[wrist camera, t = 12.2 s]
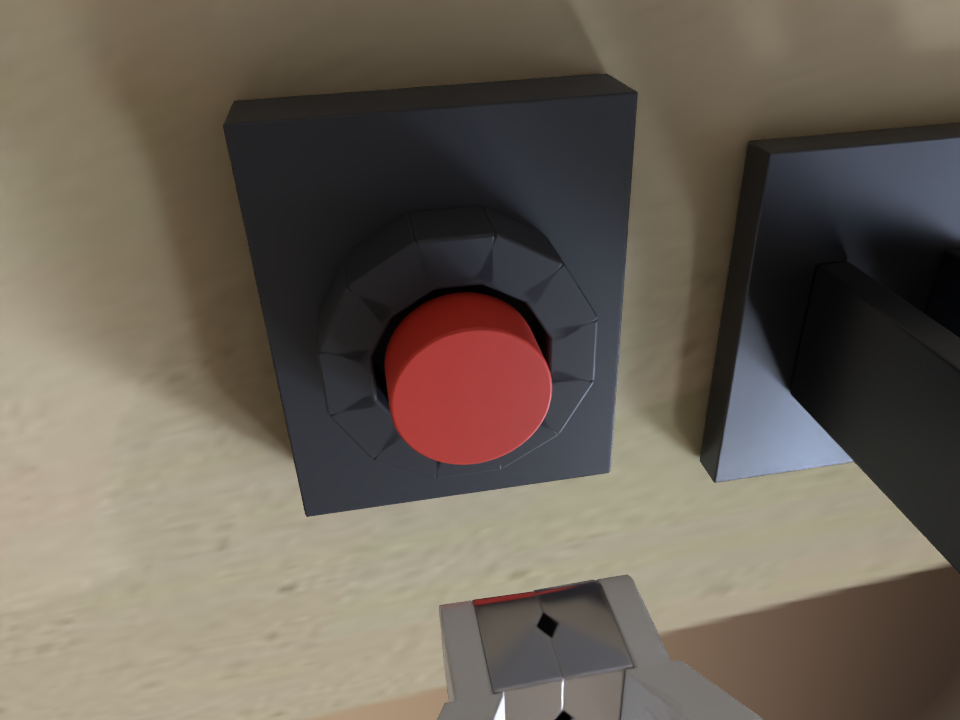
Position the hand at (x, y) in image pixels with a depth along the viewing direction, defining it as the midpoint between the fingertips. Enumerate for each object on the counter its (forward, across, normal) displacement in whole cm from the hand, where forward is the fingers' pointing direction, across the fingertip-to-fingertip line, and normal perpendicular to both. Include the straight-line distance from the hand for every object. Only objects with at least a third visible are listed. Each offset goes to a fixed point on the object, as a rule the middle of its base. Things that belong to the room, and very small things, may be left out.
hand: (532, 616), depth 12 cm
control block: (+11, 0, 0) cm, 11 cm away
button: (+7, 0, 0) cm, 8 cm away
